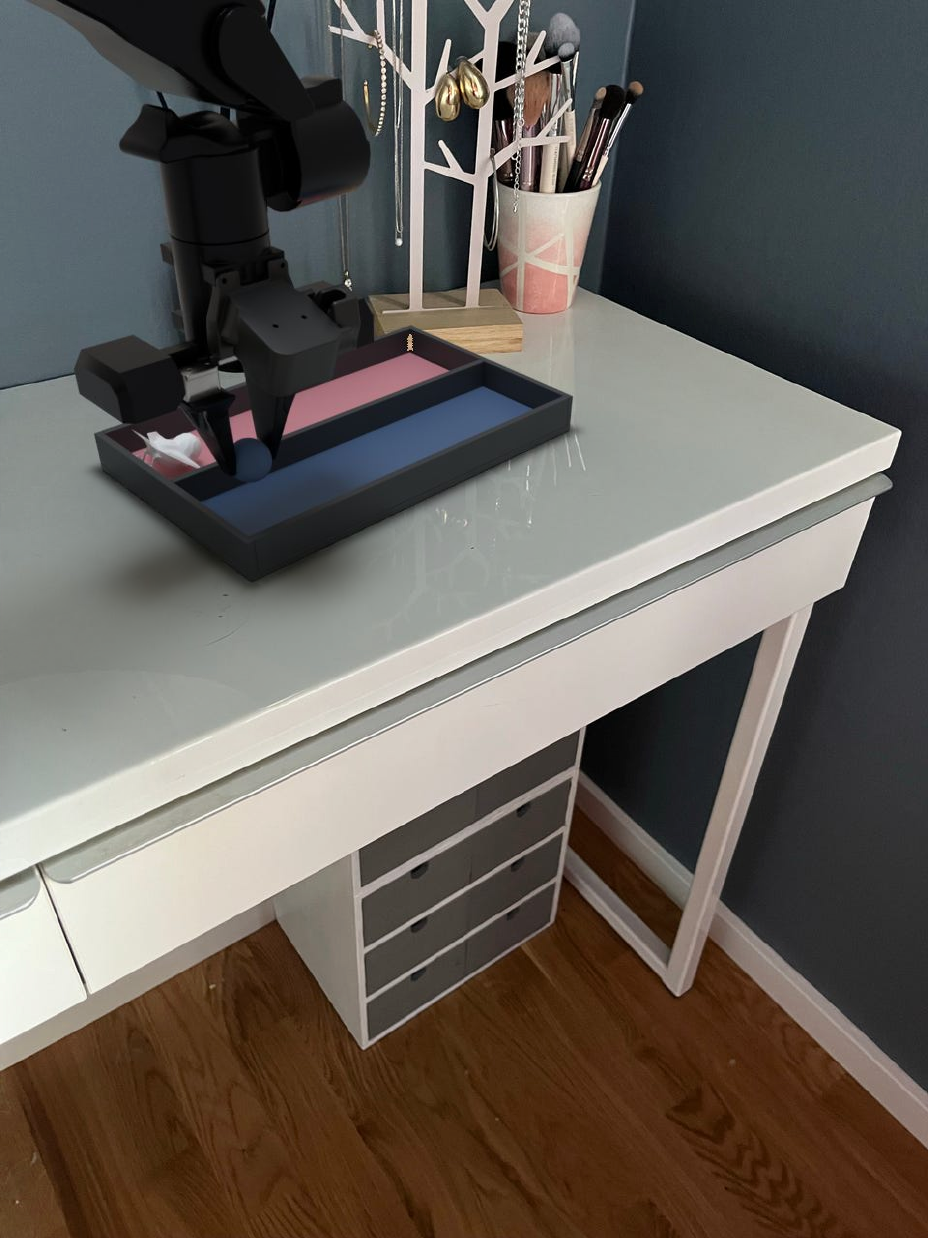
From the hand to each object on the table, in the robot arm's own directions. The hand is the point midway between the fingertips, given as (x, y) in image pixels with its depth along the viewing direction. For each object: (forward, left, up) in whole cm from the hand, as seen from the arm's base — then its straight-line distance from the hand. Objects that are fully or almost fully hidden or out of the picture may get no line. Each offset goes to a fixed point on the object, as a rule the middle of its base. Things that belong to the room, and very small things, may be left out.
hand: (249, 466), depth 67 cm
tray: (+12, +5, -5) cm, 14 cm away
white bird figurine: (-1, +10, -4) cm, 11 cm away
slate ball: (0, 0, 0) cm, 0 cm away
